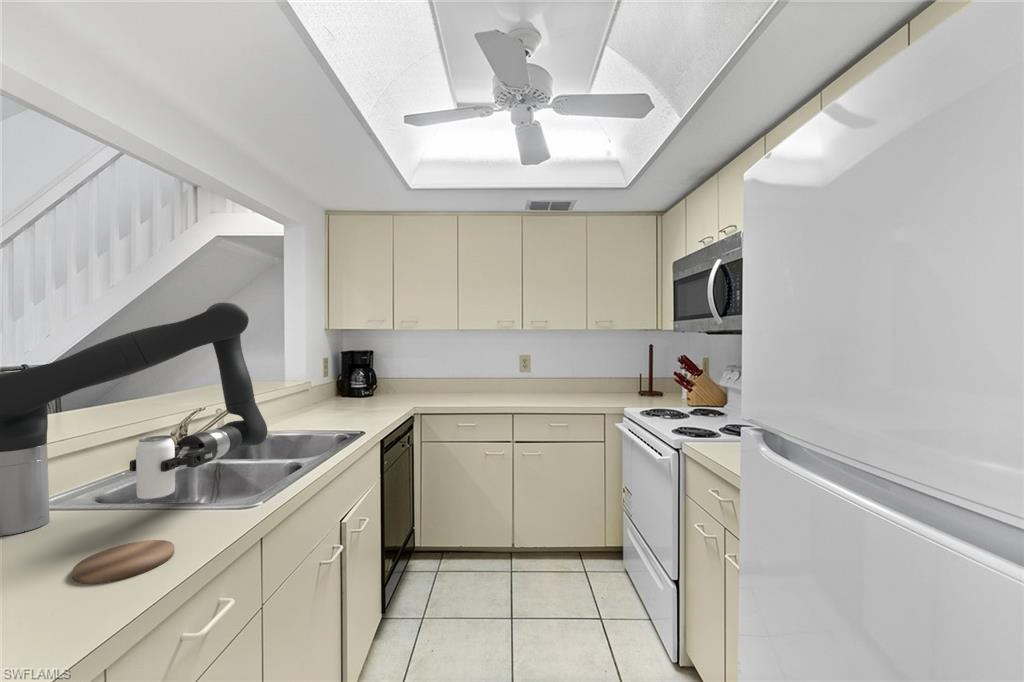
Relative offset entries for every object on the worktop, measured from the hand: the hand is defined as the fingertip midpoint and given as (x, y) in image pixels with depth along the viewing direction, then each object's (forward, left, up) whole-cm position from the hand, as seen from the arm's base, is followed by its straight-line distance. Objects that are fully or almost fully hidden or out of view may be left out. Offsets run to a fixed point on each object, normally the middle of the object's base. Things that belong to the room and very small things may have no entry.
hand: (147, 466), depth 97 cm
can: (-1, +2, -7) cm, 7 cm away
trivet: (+9, -11, -14) cm, 20 cm away
